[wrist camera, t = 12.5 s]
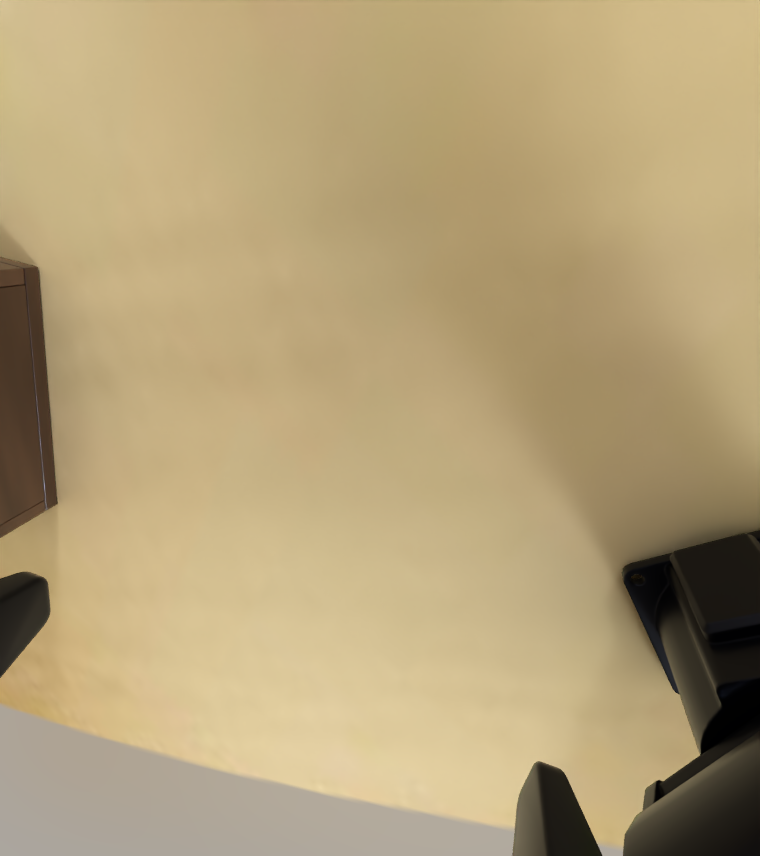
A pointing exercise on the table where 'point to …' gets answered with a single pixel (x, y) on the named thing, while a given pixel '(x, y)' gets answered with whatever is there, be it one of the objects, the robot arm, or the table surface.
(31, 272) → the box
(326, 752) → the table surface
